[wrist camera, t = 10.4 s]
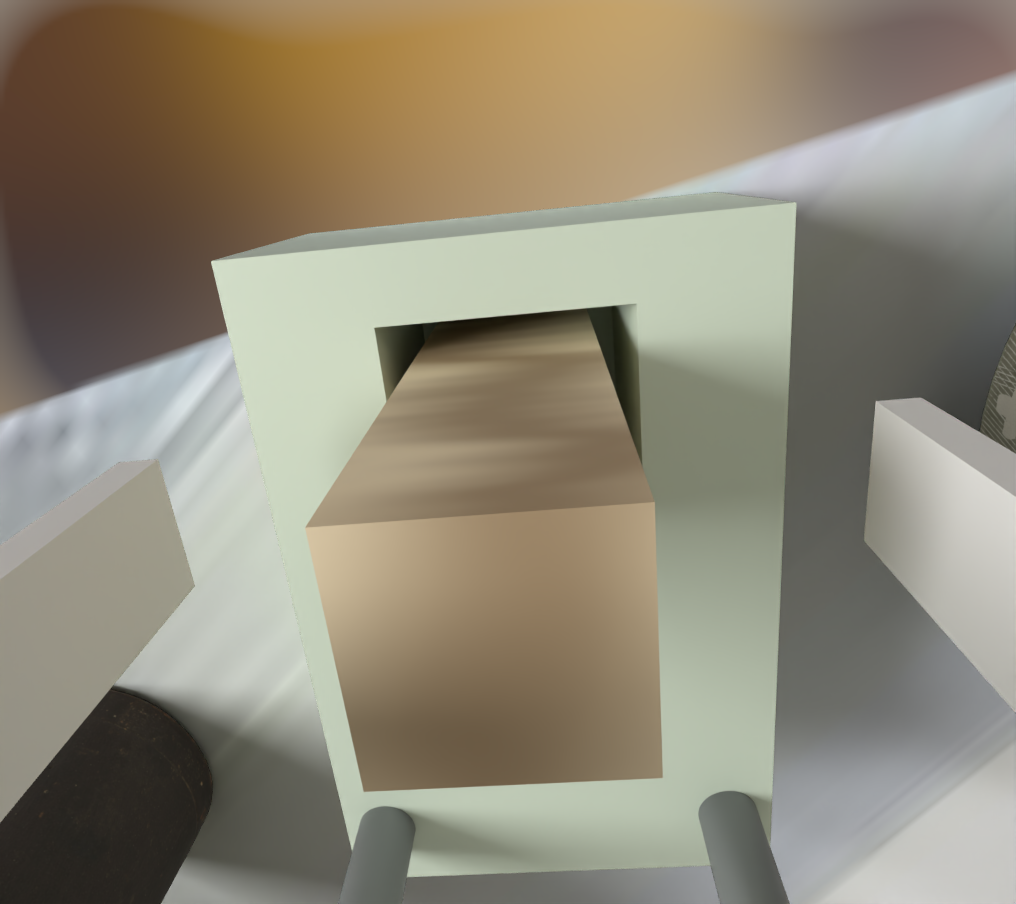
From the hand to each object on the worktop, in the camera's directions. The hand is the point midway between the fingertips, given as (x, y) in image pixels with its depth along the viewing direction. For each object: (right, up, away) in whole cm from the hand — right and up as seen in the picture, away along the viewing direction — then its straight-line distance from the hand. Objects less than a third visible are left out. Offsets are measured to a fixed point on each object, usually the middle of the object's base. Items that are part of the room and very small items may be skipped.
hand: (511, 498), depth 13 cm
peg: (0, +3, +9) cm, 9 cm away
